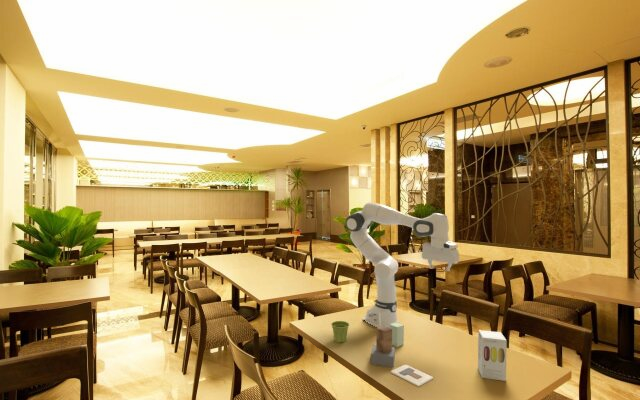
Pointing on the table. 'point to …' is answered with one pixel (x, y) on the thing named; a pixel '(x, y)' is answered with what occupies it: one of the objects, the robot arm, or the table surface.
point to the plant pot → (340, 330)
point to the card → (412, 375)
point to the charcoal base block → (382, 357)
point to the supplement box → (492, 355)
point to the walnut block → (384, 339)
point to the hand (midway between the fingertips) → (439, 269)
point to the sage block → (397, 334)
